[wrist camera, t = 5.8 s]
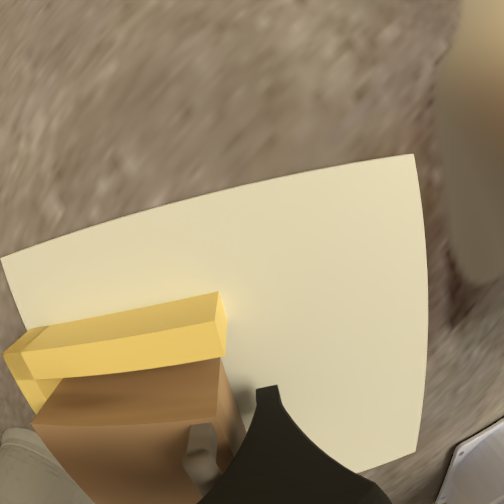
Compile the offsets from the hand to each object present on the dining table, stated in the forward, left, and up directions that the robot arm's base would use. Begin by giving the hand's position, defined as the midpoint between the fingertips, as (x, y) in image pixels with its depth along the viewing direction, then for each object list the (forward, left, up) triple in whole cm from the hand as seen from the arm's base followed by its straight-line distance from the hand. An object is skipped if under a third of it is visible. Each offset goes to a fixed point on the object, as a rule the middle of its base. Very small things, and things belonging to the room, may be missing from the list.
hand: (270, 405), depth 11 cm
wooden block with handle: (0, +5, -1) cm, 5 cm away
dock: (0, +1, -2) cm, 2 cm away
